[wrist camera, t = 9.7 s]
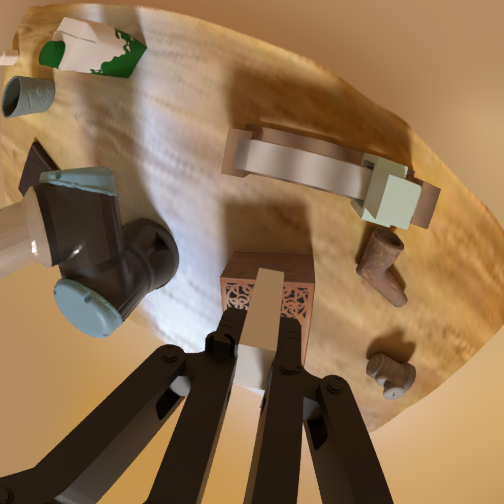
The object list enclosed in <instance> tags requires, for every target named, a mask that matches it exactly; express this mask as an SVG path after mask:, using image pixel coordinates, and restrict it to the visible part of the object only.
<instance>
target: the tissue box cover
mask: <svg viewBox="0 0 504 504" xmlns="http://www.w3.org/2000/svg"><path fill="white" fill-rule="evenodd" d="M259 268H264V269H269V270H275V271H280V272H284V281H283V292H282V302H281V312H280V316H283V317H289V318H295V319H298V321H299V322H300V324H301V326H302V333H301V335H302V339H301V362H302V365H303V368H304V364H305V357H306V351H307V344H308V338H309V331H310V323H311V316H312V308H313V299H314V291H315V272H314V258H313V256H306V255H287V254H268V253H250V252H234V253H233V255H232V257H231V258H230V260H229V262H228V264H227V266H226V267H225V269H224V271H223V273H222V274H221V276H220V284H221V295H222V306H223V312H224V311H225V310H227V309H228V308H229V307H234V308H239V309H243V310H248V308H249V304H250V301H251V297H252V293H253V290H254V286H255V282H256V278H257V275H258V271H259Z"/></svg>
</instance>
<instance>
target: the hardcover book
mask: <svg viewBox="0 0 504 504" xmlns="http://www.w3.org/2000/svg"><path fill="white" fill-rule="evenodd" d="M56 170H59V169H58V168H57V167H56V166H55V164H54V163H53V162H52V160H51V159H50V158H49V156H48V155H47V154H46V153H45V151H44V150H43V149H42V147H41V146H40V144H39V143H38V142H34V143H33V144H32V146H31V148H30V151H29V154H28V157H27V160H26V163H25V166H24V170H23V173H22V177H21V180H20V184H19V187H18V189H19V191H20V192H21V194H22V195H23V197H24V196H25V194H26V192H27V191H28V189H29V187H31V186H34V185H38V184H40V183H41V182H40V181H39V179H40V175H41V173H43V172H49V171H56Z"/></svg>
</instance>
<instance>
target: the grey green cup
mask: <svg viewBox="0 0 504 504" xmlns="http://www.w3.org/2000/svg"><path fill="white" fill-rule="evenodd" d="M54 96H55V84H54V82H53V81H51V80H47V79H37V78H31V77H23V76H14V77H13V78H12V79H10V81H9V82H8V84H7V85H6V87H5V90H4V93H3V97H2V105H1V108H2V114H3V116H4V117H5V118H12V117H16V116H20V115H26V114H30V113H31V114H32V113H40V112H44V111H46V110H48V109H49V107H50V106H51V104H52V102H53V100H54Z"/></svg>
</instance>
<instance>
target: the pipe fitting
mask: <svg viewBox="0 0 504 504" xmlns="http://www.w3.org/2000/svg"><path fill="white" fill-rule="evenodd" d="M366 373H367V375H368V376H370V377H372V378H374V379H375V380H376V382H377V383H378V384H379V385H381V386H383V387H384V391H383V396H384V398H385V399H388V400H395V399H398V398H400V397H402V396H403V395H404V393H405V392H406V391H407V390H408V389H409V388H410V387H411V386H412V384H413V383H414V381H415V377H416V369H415V367H414V366H413V365H411V364H409V363H402V364H400V363H398V362H396V361H395V360H393V359H391V358H389V357H387V356H386V355H384V354H382V353H377V354H375V355H374V356H373V357H372V358H371V359H370V360H369V362H368V364H367V367H366Z"/></svg>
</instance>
